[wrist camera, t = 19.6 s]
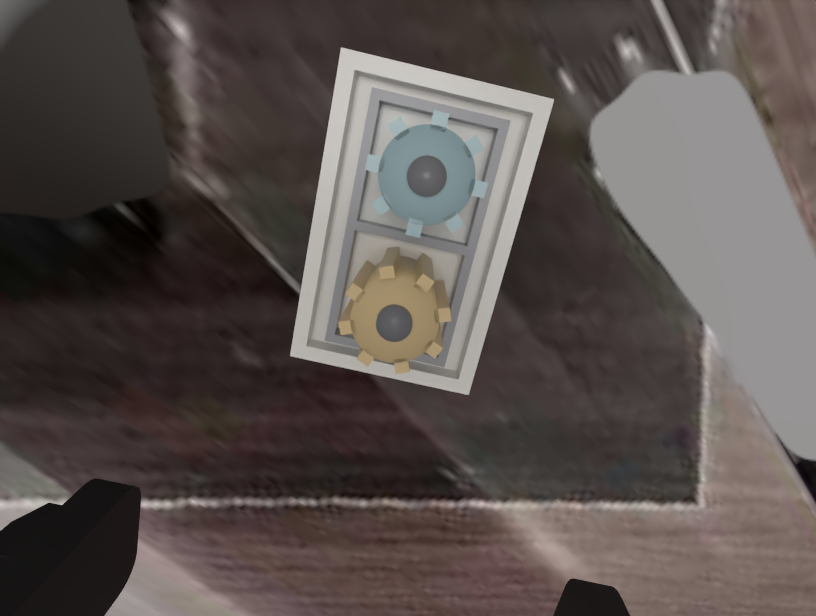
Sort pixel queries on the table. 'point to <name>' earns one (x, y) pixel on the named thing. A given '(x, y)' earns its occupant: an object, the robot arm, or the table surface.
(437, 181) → the teal gear
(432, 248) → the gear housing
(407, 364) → the amber gear
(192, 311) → the table surface
